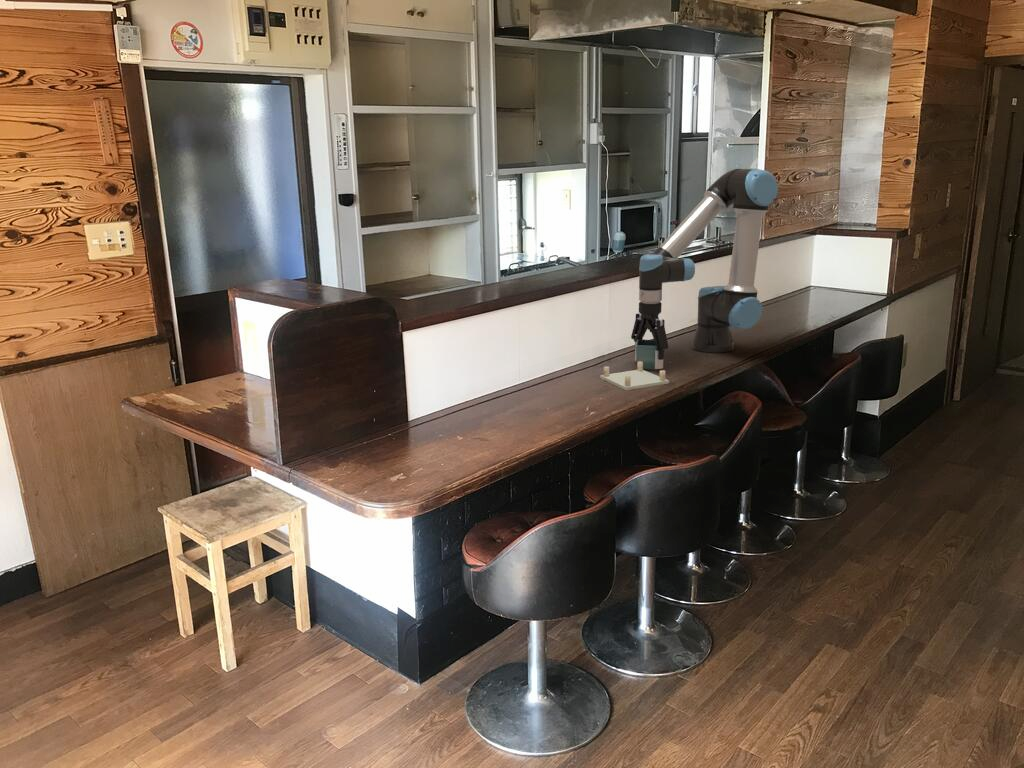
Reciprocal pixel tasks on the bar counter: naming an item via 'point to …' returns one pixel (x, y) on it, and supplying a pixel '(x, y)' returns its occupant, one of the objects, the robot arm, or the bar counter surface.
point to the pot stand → (634, 378)
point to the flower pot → (646, 353)
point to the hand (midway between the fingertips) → (648, 364)
